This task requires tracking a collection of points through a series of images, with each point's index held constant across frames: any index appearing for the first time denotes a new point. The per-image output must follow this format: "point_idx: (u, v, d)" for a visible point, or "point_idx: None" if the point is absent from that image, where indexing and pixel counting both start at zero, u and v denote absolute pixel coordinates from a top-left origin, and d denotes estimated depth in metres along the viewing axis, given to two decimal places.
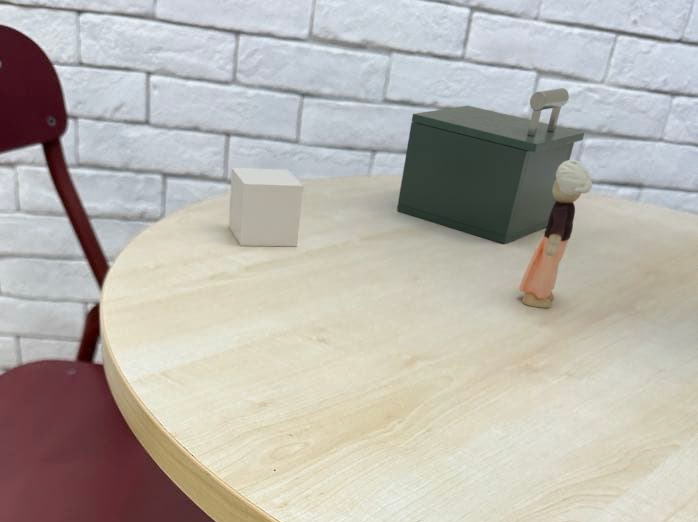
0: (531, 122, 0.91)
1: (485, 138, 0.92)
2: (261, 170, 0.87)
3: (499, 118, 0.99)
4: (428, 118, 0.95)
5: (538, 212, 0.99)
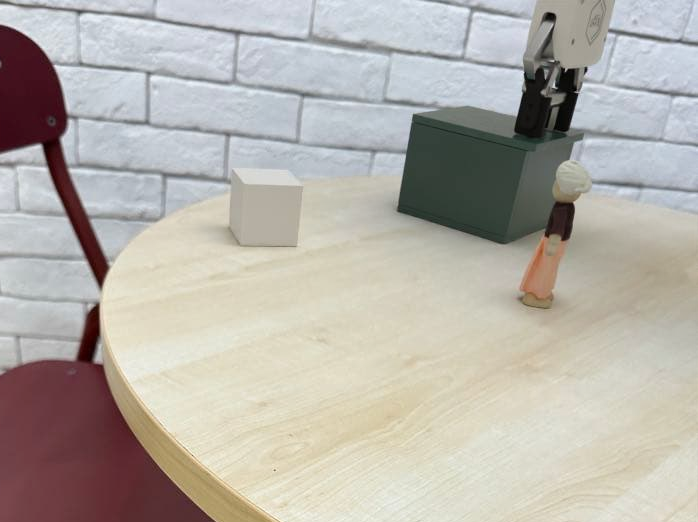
0: None
1: (485, 138, 0.92)
2: (261, 170, 0.87)
3: (499, 118, 0.99)
4: (428, 118, 0.95)
5: (538, 212, 0.99)
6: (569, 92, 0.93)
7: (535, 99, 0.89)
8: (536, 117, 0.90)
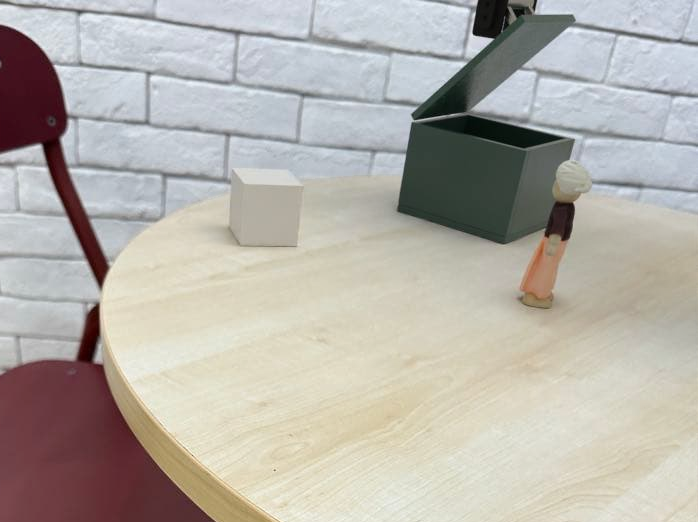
0: (509, 21, 0.89)
1: (478, 61, 0.89)
2: (261, 170, 0.87)
3: None
4: (424, 102, 0.94)
5: (538, 212, 0.99)
6: None
7: None
8: (493, 16, 0.88)
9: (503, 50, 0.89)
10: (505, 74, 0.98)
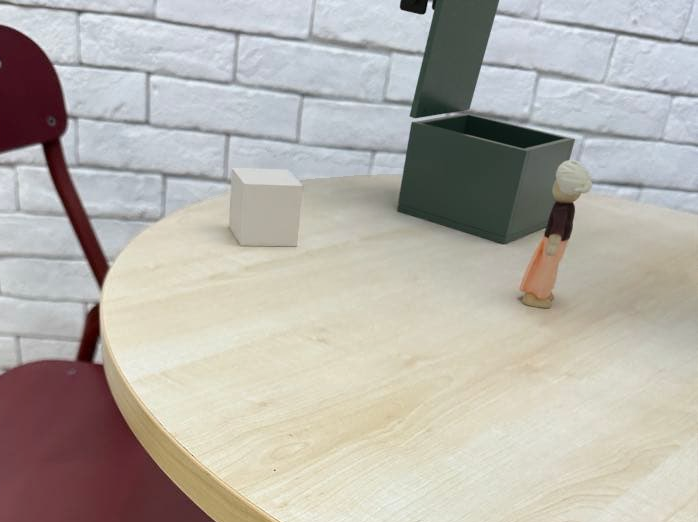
0: None
1: (436, 21, 0.90)
2: (261, 170, 0.87)
3: None
4: (414, 96, 0.95)
5: (538, 212, 0.99)
6: None
7: None
8: None
9: (455, 3, 0.91)
10: (478, 46, 0.98)
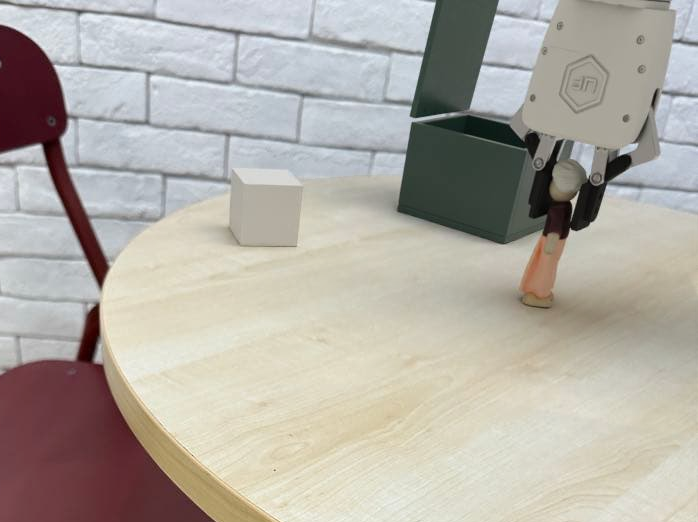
0: None
1: (436, 21, 0.90)
2: (261, 170, 0.87)
3: None
4: (414, 96, 0.95)
5: None
6: (587, 182, 0.73)
7: None
8: (533, 192, 0.76)
9: (455, 3, 0.91)
10: (478, 46, 0.98)
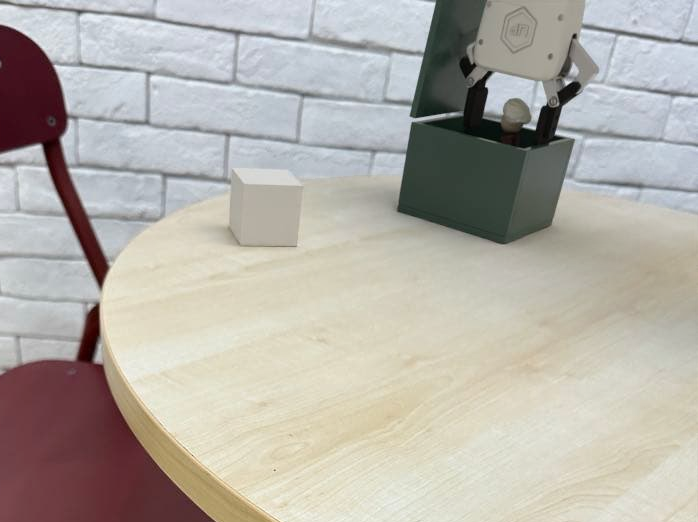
0: None
1: (436, 21, 0.90)
2: (261, 170, 0.87)
3: None
4: (414, 96, 0.95)
5: (538, 212, 0.99)
6: (546, 105, 0.92)
7: None
8: (467, 106, 0.97)
9: (455, 3, 0.91)
10: None
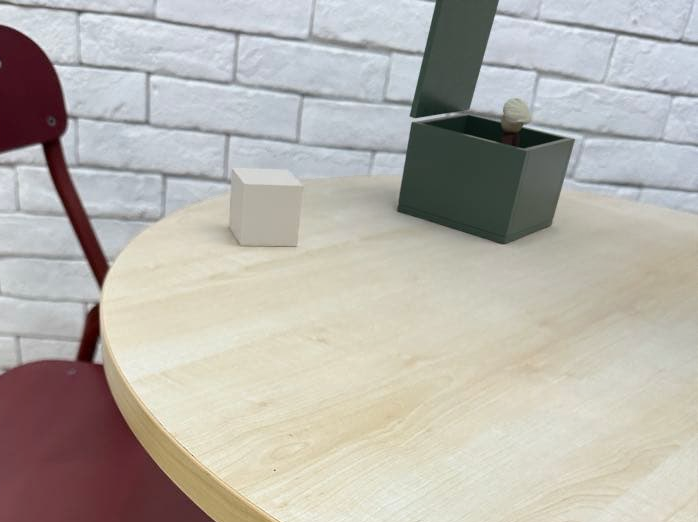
0: None
1: (436, 21, 0.90)
2: (261, 170, 0.87)
3: None
4: (414, 96, 0.95)
5: (538, 212, 0.99)
6: None
7: None
8: None
9: (455, 3, 0.91)
10: (478, 46, 0.98)
